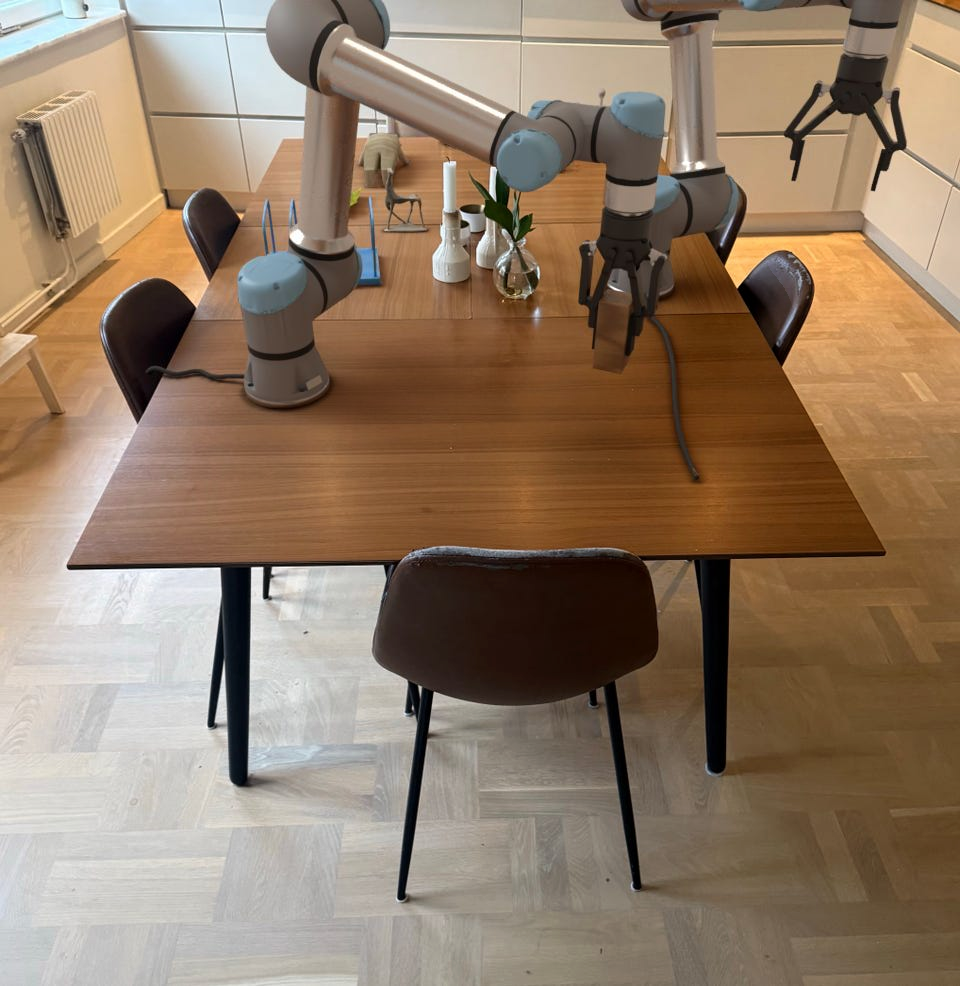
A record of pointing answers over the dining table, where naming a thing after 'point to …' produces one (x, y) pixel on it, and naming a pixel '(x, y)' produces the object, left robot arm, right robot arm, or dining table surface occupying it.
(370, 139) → the figurine
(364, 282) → the file sorter
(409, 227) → the figurine
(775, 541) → the dining table surface
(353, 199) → the topographical model
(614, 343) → the block
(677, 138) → the right robot arm
